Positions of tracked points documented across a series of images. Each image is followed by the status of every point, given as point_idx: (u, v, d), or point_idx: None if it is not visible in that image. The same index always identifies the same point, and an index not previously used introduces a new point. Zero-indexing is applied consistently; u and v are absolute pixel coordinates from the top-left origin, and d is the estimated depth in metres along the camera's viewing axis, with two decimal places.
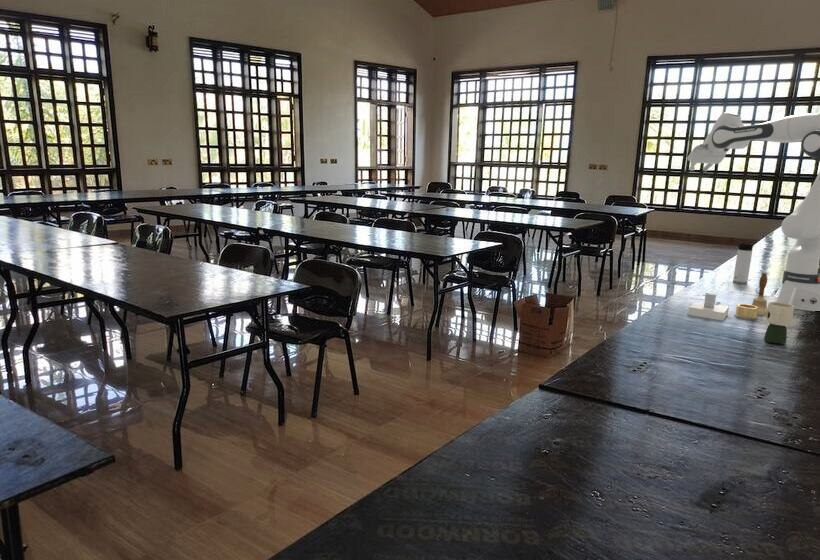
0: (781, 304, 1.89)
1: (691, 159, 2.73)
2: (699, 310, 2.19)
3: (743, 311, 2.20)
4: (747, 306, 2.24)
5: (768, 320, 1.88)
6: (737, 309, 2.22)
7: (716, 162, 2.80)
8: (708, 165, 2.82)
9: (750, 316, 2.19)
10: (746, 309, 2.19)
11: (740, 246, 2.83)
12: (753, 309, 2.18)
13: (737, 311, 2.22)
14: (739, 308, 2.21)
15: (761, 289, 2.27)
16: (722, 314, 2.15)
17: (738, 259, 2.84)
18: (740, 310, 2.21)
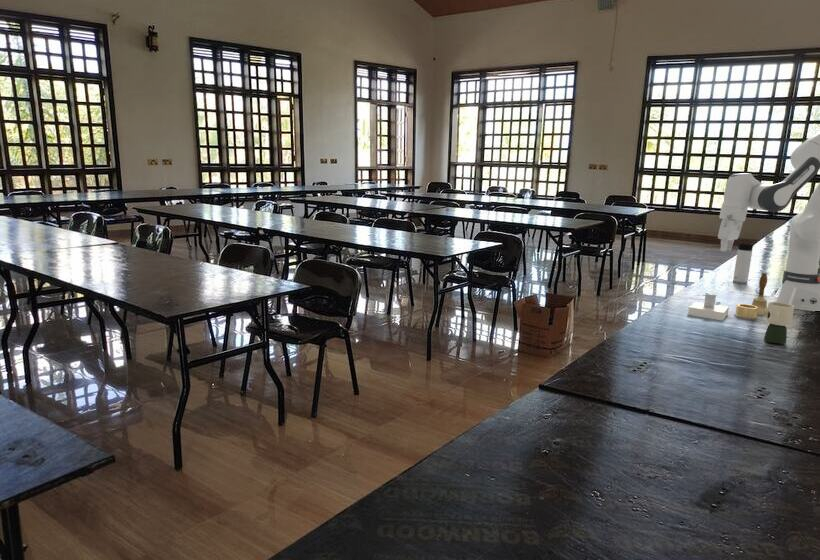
0: (781, 304, 1.89)
1: (725, 235, 2.15)
2: (699, 310, 2.19)
3: (743, 311, 2.20)
4: (747, 306, 2.24)
5: (768, 320, 1.88)
6: (737, 309, 2.22)
7: (737, 237, 2.27)
8: (729, 243, 2.28)
9: (750, 316, 2.19)
10: (746, 309, 2.19)
11: (740, 246, 2.83)
12: (753, 309, 2.18)
13: (737, 311, 2.22)
14: (739, 308, 2.21)
15: (761, 289, 2.27)
16: (722, 314, 2.15)
17: (738, 259, 2.84)
18: (740, 310, 2.21)
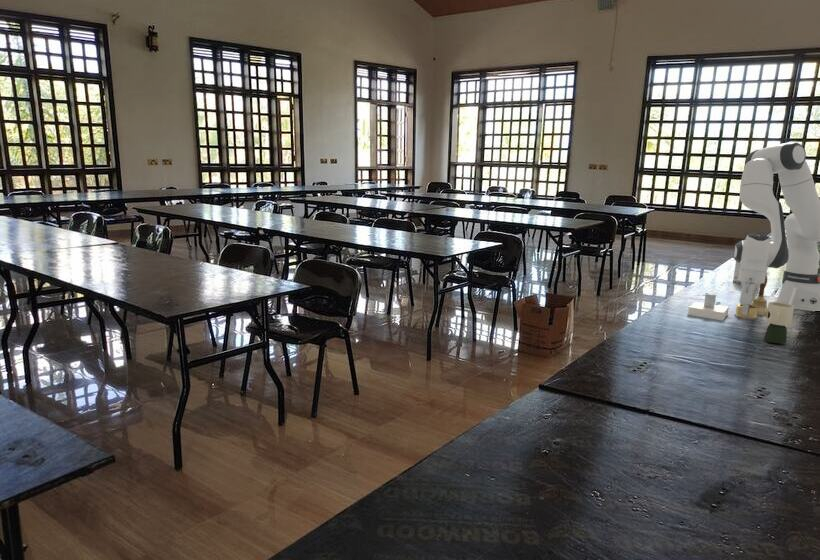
0: (781, 304, 1.89)
1: (748, 301, 2.13)
2: (699, 310, 2.19)
3: None
4: None
5: (768, 320, 1.88)
6: (737, 309, 2.22)
7: (755, 295, 2.26)
8: None
9: (750, 316, 2.19)
10: None
11: None
12: (753, 309, 2.18)
13: (737, 311, 2.22)
14: (739, 308, 2.21)
15: (761, 289, 2.27)
16: (722, 314, 2.15)
17: None
18: (740, 310, 2.21)
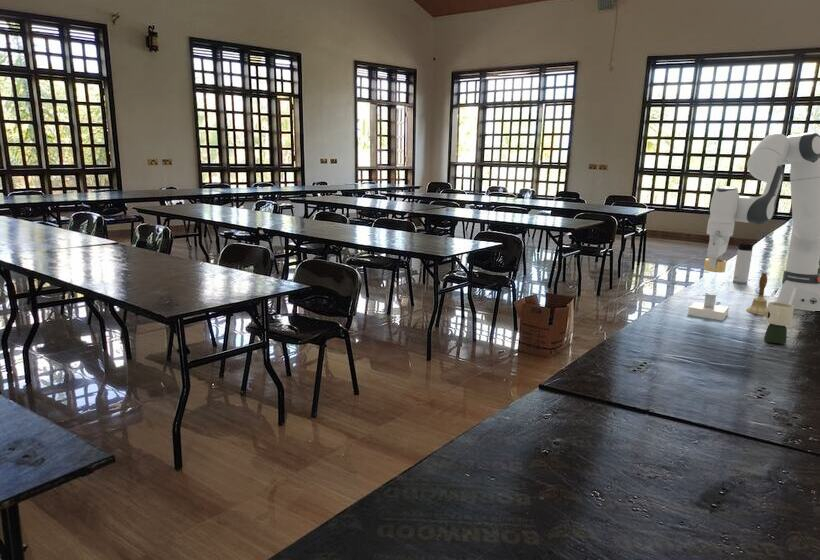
0: (781, 304, 1.89)
1: (715, 253, 2.09)
2: (699, 310, 2.19)
3: None
4: (716, 261, 2.21)
5: (768, 320, 1.88)
6: (705, 263, 2.19)
7: (725, 250, 2.23)
8: (717, 257, 2.23)
9: (718, 270, 2.16)
10: None
11: (740, 246, 2.83)
12: (721, 262, 2.15)
13: (705, 265, 2.19)
14: (707, 262, 2.18)
15: (761, 289, 2.27)
16: (722, 314, 2.15)
17: (738, 259, 2.84)
18: (708, 264, 2.18)
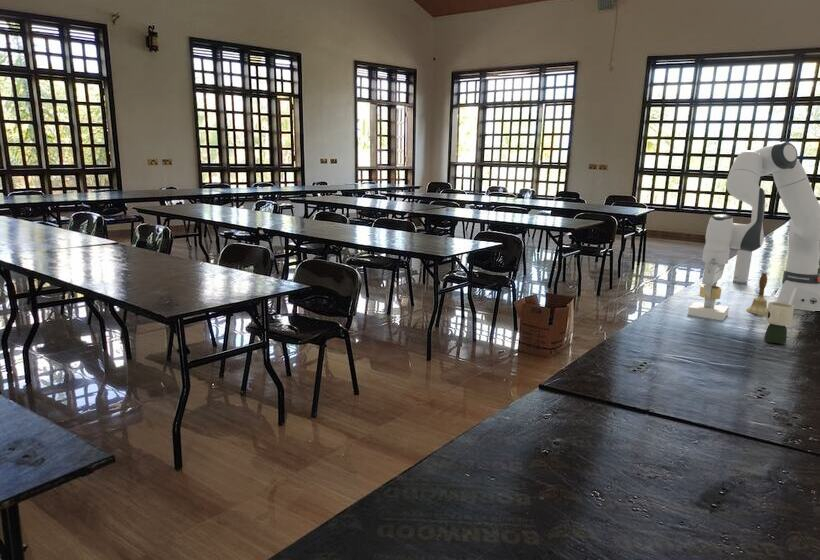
0: (781, 304, 1.89)
1: (710, 281, 2.12)
2: (699, 310, 2.19)
3: None
4: None
5: (768, 320, 1.88)
6: (701, 290, 2.22)
7: (720, 277, 2.25)
8: (713, 284, 2.25)
9: (713, 297, 2.18)
10: None
11: None
12: (716, 289, 2.18)
13: (701, 292, 2.22)
14: (702, 289, 2.20)
15: (761, 289, 2.27)
16: (722, 314, 2.15)
17: (738, 259, 2.84)
18: (703, 291, 2.20)
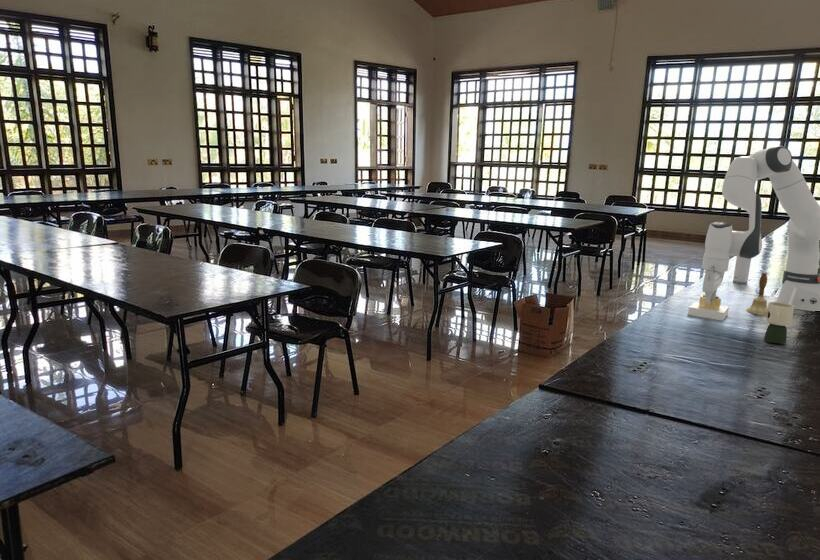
0: (781, 304, 1.89)
1: (710, 289, 2.12)
2: (699, 310, 2.19)
3: None
4: None
5: (768, 320, 1.88)
6: (700, 300, 2.22)
7: (720, 284, 2.25)
8: None
9: (713, 307, 2.19)
10: None
11: None
12: (716, 300, 2.18)
13: (700, 302, 2.22)
14: (702, 299, 2.21)
15: (761, 289, 2.27)
16: (722, 314, 2.15)
17: (738, 259, 2.84)
18: (703, 301, 2.21)
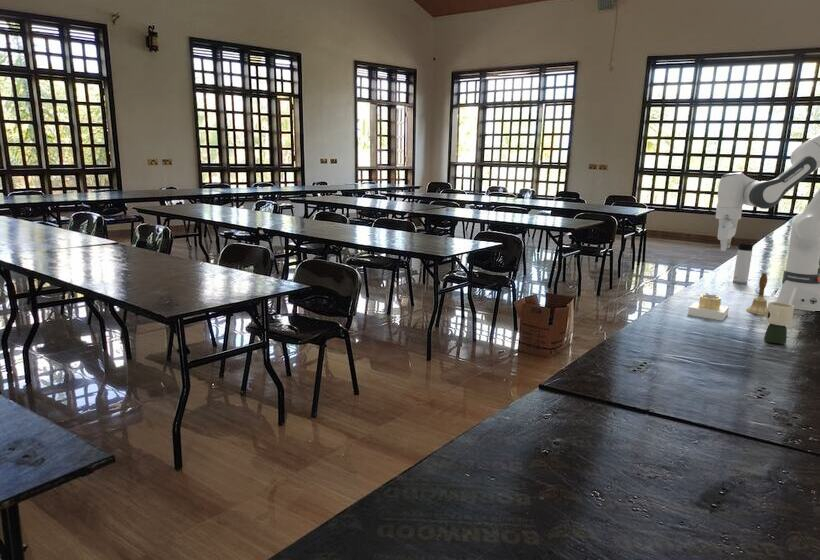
0: (781, 304, 1.89)
1: (725, 236, 2.20)
2: (699, 310, 2.19)
3: (706, 302, 2.20)
4: None
5: (768, 320, 1.88)
6: (700, 300, 2.22)
7: (734, 233, 2.33)
8: (727, 240, 2.33)
9: (713, 307, 2.19)
10: (709, 299, 2.19)
11: (740, 246, 2.83)
12: (716, 300, 2.18)
13: (700, 302, 2.22)
14: (702, 299, 2.21)
15: (761, 289, 2.27)
16: (722, 314, 2.15)
17: (738, 259, 2.84)
18: (703, 301, 2.21)
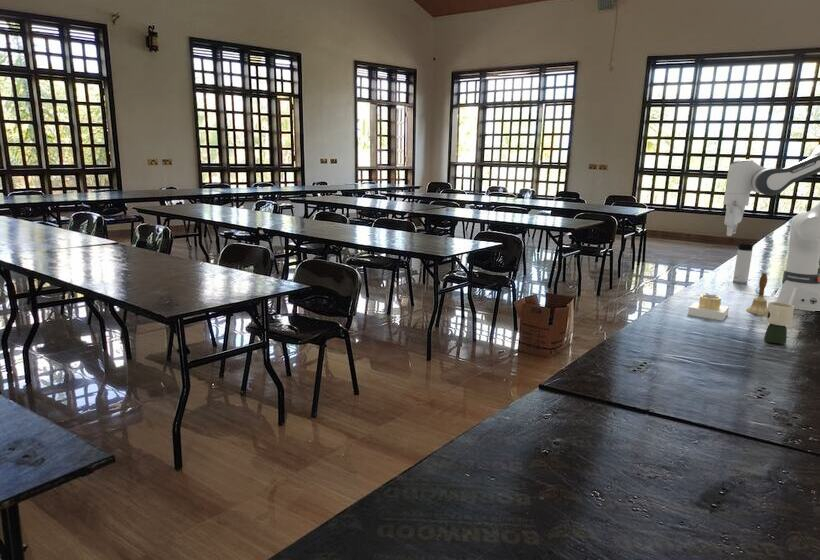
0: (781, 304, 1.89)
1: (732, 221, 2.25)
2: (699, 310, 2.19)
3: (706, 302, 2.20)
4: None
5: (768, 320, 1.88)
6: (700, 300, 2.22)
7: (740, 220, 2.38)
8: (733, 227, 2.38)
9: (713, 307, 2.19)
10: (709, 299, 2.19)
11: (740, 246, 2.83)
12: (716, 300, 2.18)
13: (700, 302, 2.22)
14: (702, 299, 2.21)
15: (761, 289, 2.27)
16: (722, 314, 2.15)
17: (738, 259, 2.84)
18: (703, 301, 2.21)
